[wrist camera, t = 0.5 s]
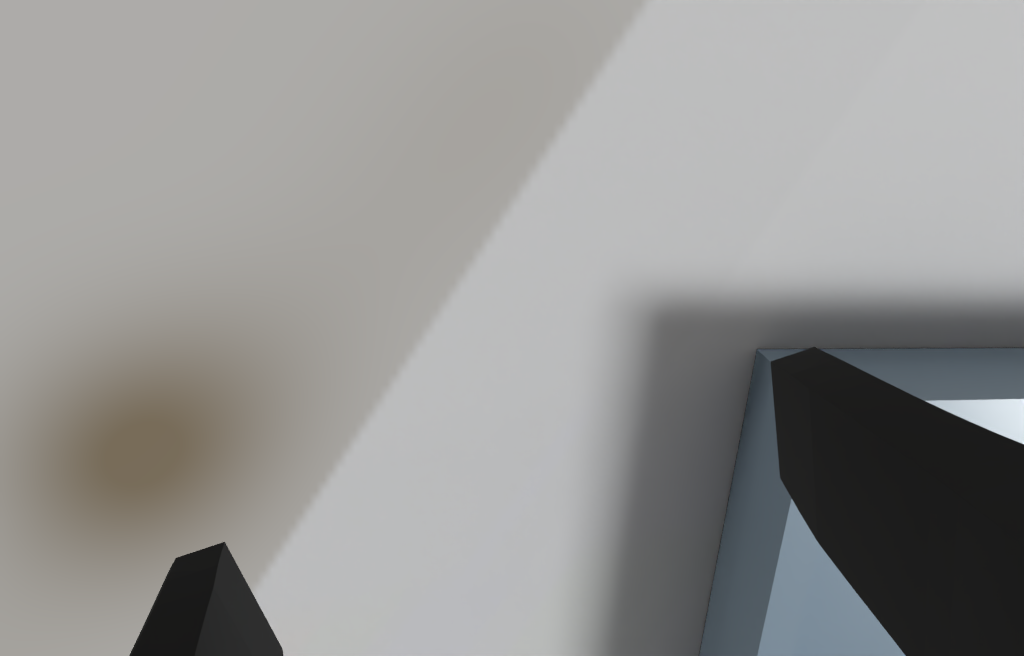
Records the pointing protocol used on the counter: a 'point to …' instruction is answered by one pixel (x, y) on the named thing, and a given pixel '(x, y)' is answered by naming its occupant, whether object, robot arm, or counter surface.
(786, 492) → the slate-blue tray
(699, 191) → the counter surface
